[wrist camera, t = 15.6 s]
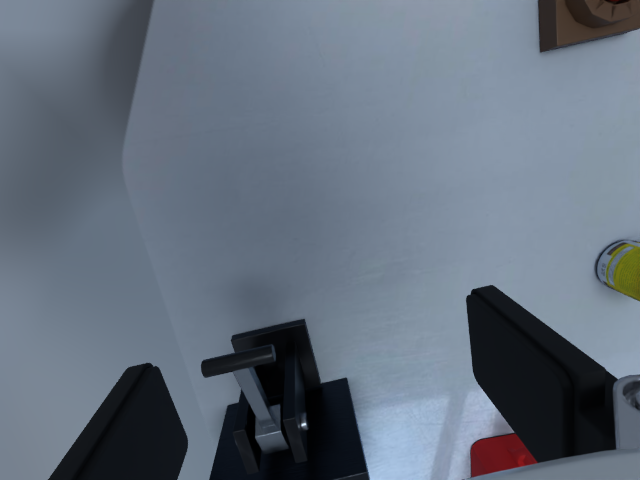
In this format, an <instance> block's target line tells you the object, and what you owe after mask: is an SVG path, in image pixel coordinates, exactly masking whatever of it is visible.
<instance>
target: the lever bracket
mask: <svg viewBox="0 0 640 480" xmlns="http://www.w3.org/2000/svg"><path fill="white" fill-rule="evenodd" d="M231 342H232V345H233V348H234V351H235V353H236V352H240V351H245V350H249V349H253V348H258V347H262V346H266V345H271V344H272V345H273V346H274V349H275V354H276V361H275V362H272V363H267V364H263V365H259V366H254V367H253V368H254V370H255V372H256V375H257V377H258V379H259V381H260V383H261V386H262V388H263V390H264V392H265V394H266V396H267V398H269V397H273V396H277V395H282V394H284V404H283V423H284V426H285V429H286V433H287V436H288V439H289V442H290V446H291V449H292V452H293V456H294V459H295V462H296V463H300V462H304V461H307V460H308V456H307V432H306V431H307V430H309V424H308V418H307V414H306V408H305V389H308V388H312V387H316V386H320V385H321V382H320V377H319V373H318V369H317V365H316V361H315V357H314V353H313V349H312V346H311V342H310V338H309V334H308V330H307V326H306V322H305V319H303V320H298V321H294V322H290V323H285V324H281V325H277V326H272V327H268V328H264V329H259V330H255V331H251V332H246V333H242V334H238V335H233V336H232V339H231ZM233 435H234V438H235V442H236V445H237V446H238V449H239V452H240V455H241V457H242V460H243V463H244V466H245V469H246V471H247V474H252V473H256V472H259V469H260V460H261V448H260V446H259V445H258V443H257V441H256V439H255V414H254V412H253V410H252V408H251V406H250V404H249V402H248V400H247V398H246V396H245V394H244V393H243V391H242V389H241V394H240V399H239V404H238V408H237V413H236V418H235V422H234V427H233Z"/></svg>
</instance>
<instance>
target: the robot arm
mask: <svg viewBox="0 0 640 480" xmlns="http://www.w3.org/2000/svg"><path fill="white" fill-rule="evenodd" d="M466 303H467V314H468V324H469V335H470V345H471V356H472V366H473V373H474V376H475V379H476V381H477V382H478V384H479V385H480V387H481V388H482V389H483V391H484V392H485V393H486V395H487V396H488V397H489V399H490V400H491V401H492V403H493V404H494V405H495V407H496V408H497V409H498V411H499V412H500V413H501V415H502V416H503V417H504V419H505V420H506V421H507V423H508V424H509V425H510V427H511V428H512V429H513V431H514V432H515V433H516V435H517V436H518V437H519V439H520V440H521V441H522V443H523V444H524V445H525V447H526V448H527V449H528V451H529V452H530V453H531V454H532V456H533V457H534V458H535V460H536V461H537V462H538V463H536V464H532V465H527V466H522V467H518V468H513V469H508V470H503V471H498V472H494V473H489V474H485V475H481V476H476V477H472V478H467V479H463V480H640V375H629V376H625V377H622V378H620V379H619V380H618V379H617V378H616V377H614V376H613V375H612V374H610V373H609V372H608V371H606V369H605V368H604V367H602V366H601V365H600V364H598V363H597V362H596V361H594V360H593V359H592V358H590V357H589V356H588V355H586V354H585V353H584V352H582V351H581V350H579V349H578V348H577V347H575V346H574V345H573V344H571V343H570V342H569V341H567V340H566V339H565V338H563V337H562V336H561V335H559V334H558V333H557V332H555V331H554V330H553V329H551V328H550V327H549V326H547V325H546V324H544V323H543V322H542V321H540V320H539V319H538V318H536V317H535V316H534V315H532V314H531V313H530V312H528V311H527V310H526V309H524V308H523V307H522V306H520V305H519V304H518V303H516V302H515V301H514V300H512V299H511V298H510V297H508V296H507V295H505V294H504V293H503V292H501V291H500V290H499V289H497V288H496V287H495V286H493V285H489V286H485V287H481V288H476V289H473V290H472V291H471V295H468V296H467V298H466ZM187 448H188V439H187V435H186V433H185V431H184V428H183V425H182V423H181V420H180V418H179V415H178V413H177V411H176V408H175V406H174V403H173V401H172V398H171V396H170V393H169V391H168V388H167V386H166V384H165V381H164V379H163V376H162V374H161V371H160V369H159V368H158V367H157V366H155V367H153V365H152V364H151V363H146V364H141V365H137V366H132V367H129V368H127V369H126V371H125V372H124V373H123V375H122V376H121V378H120V379H119V381H118V382H117V383H116V385H115V386H114V387H113V389H112V390H111V392H110V393H109V395H108V396H107V397H106V399H105V400H104V402H103V403H102V404H101V406H100V407H99V409H98V410H97V411H96V413H95V414H94V416H93V417H92V418H91V420H90V422H89V423H88V424H87V426H86V427H85V428H84V430H83V431H82V433H81V434H80V435H79V437H78V438H77V440H76V441H75V442H74V444H73V445H72V447H71V448H70V449H69V451H68V452H67V454H66V455H65V456H64V458H63V459H62V461H61V462H60V464H59V465H58V467H57V468H56V469H55V471H54V472H53V473H52V475H51V476H50V478H49V479H48V480H177V479H178V476H179V473H180V470H181V467H182V464H183V461H184V458H185V455H186V452H187Z"/></svg>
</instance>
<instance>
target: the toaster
mask: <svg viewBox="0 0 640 480" xmlns="http://www.w3.org/2000/svg"><path fill="white" fill-rule="evenodd" d="M267 399H268V401H269V403H270V405H271V406H274V405H278V404H280V405H281V407H282V409H283V404H284V394H282V395H277V396H273V397H269V398H267ZM238 404H239V403H237V404H232V405H228V407H227V411H226V415H225V419H224V423H223V427H222V431H221V435H220V439H219V443H218V447H217V451H216V455H215V459H214V463H213V467H212V471H211V475H210V479H209V480H370V477H369V472H368V468H367V463H366V459H365V454H364V450H363V445H362V441H361V437H360V432H359V428H358V424H357V419H356V415H355V411H354V406H353V402H352V398H351V394H350V389H349V385H348V381H347V378H344V379H340V380H336V381H331V382H327V383H323V384H321V385H320V386H316V387H312V388H308V389H305V408H306V414H307V418H308V424H309V430H307V431H306V432H307V456H308V460H307V461H304V462H300V463H296V462H295V459H294V456H293V452H292V449H291V446H290V442H289V449H286V450H281V451H277V452H273V453H269V454H263V452H262V450H261V460H260V469H259V472H256V473H252V474H247V471H246V469H245V466H244V463H243V460H242V457H241V455H240V452H239V449H238V446H237V445H236V442H235V438H234V435H233V427H234V422H235V418H236V413H237V408H238Z"/></svg>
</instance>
